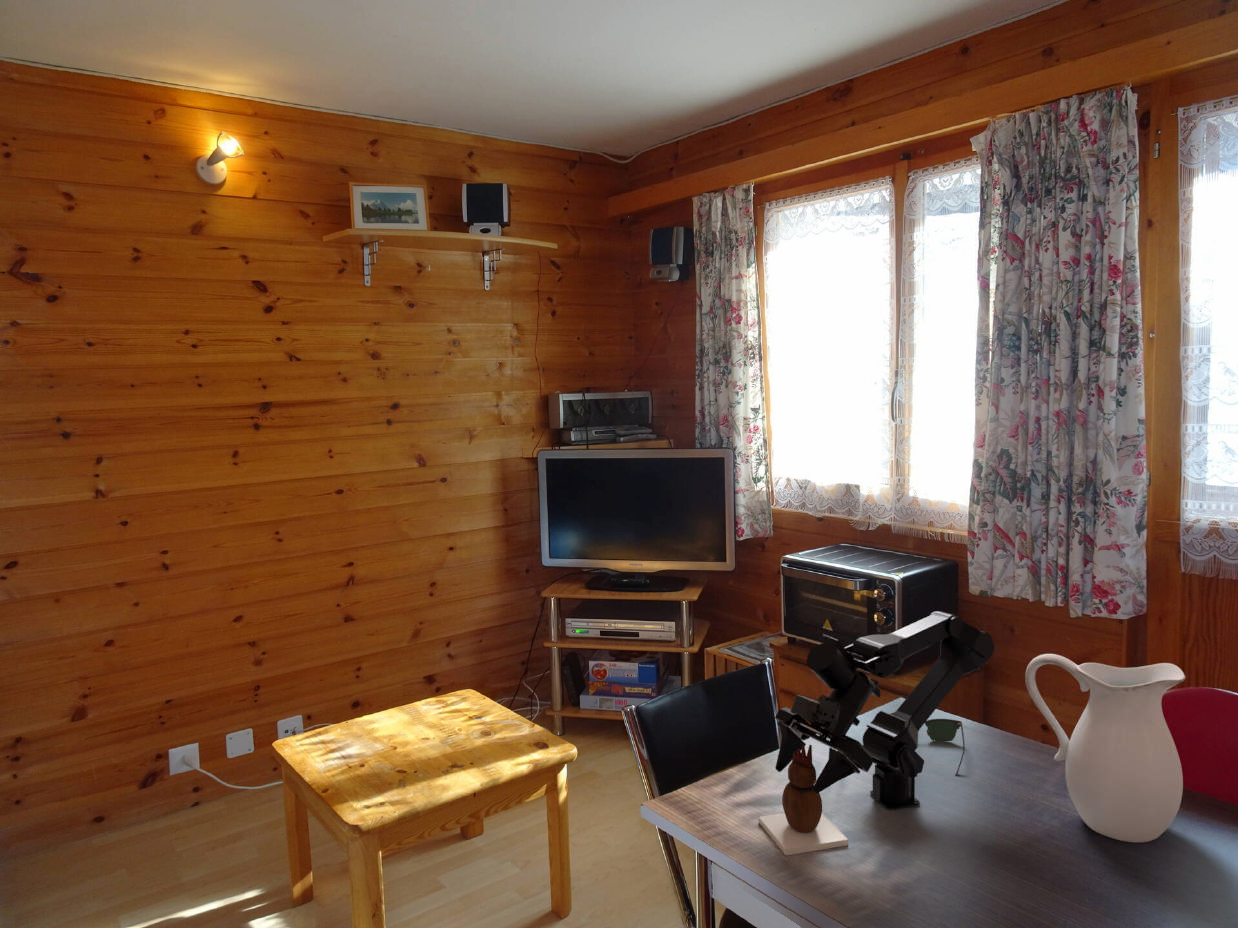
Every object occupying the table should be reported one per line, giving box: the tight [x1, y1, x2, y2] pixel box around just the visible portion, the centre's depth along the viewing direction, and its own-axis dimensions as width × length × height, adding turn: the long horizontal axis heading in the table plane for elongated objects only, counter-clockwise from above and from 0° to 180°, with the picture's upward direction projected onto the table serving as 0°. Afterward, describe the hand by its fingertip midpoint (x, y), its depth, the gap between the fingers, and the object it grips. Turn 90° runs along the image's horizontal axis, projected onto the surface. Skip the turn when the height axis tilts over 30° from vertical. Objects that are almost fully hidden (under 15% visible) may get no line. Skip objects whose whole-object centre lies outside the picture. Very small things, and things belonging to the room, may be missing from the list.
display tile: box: [758, 812, 849, 856], centre depth 146 cm, size 11×11×1 cm
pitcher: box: [1024, 653, 1186, 843], centre depth 147 cm, size 24×17×28 cm
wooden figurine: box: [781, 744, 823, 832], centre depth 146 cm, size 7×6×15 cm
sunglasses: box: [924, 718, 965, 776], centre depth 175 cm, size 16×17×5 cm
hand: (795, 780), depth 145 cm, fingers open, 9 cm apart
